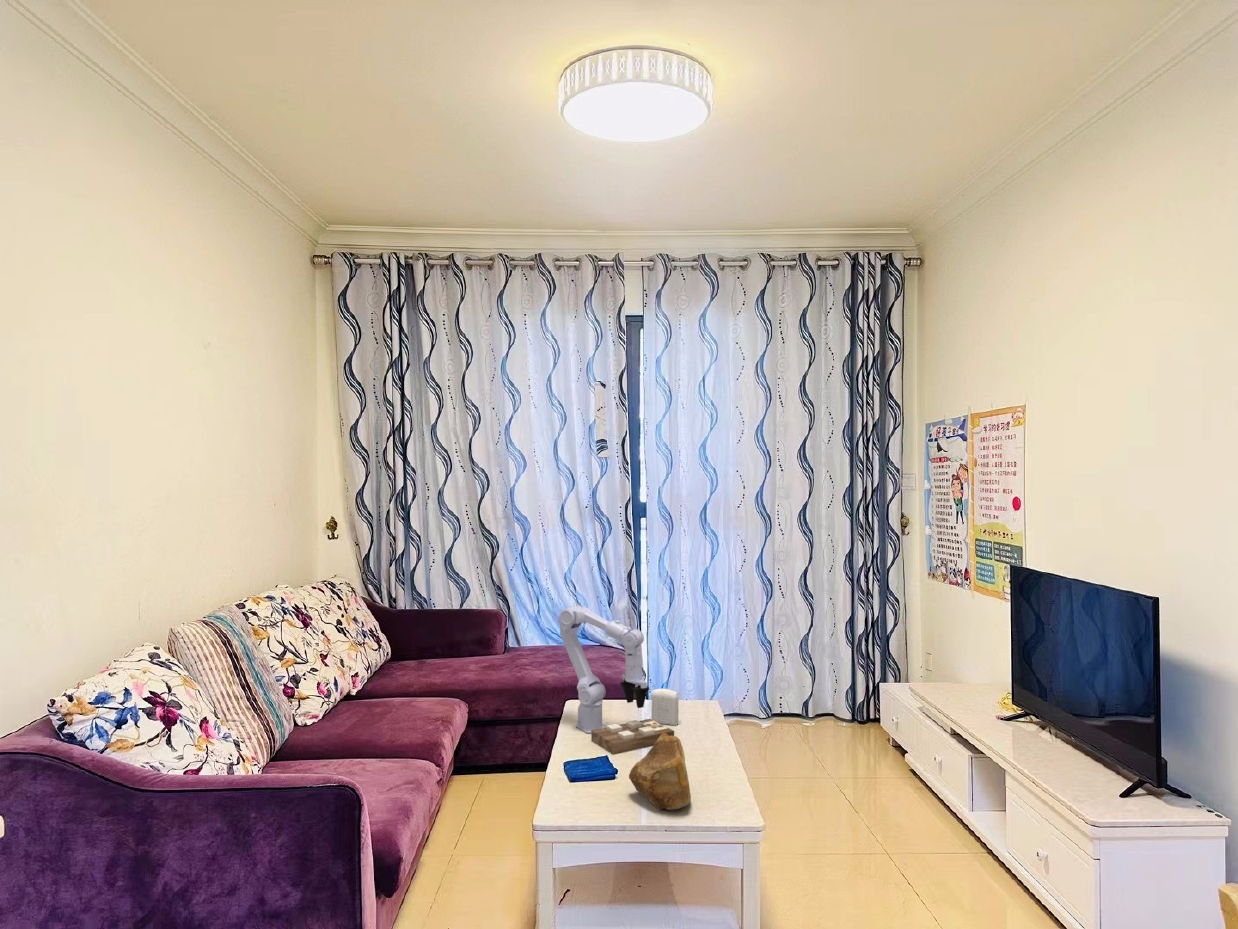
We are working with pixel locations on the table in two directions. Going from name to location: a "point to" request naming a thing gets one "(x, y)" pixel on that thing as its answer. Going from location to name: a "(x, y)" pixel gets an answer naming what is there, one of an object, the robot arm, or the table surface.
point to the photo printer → (665, 706)
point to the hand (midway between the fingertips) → (635, 705)
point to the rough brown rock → (663, 774)
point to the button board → (639, 741)
